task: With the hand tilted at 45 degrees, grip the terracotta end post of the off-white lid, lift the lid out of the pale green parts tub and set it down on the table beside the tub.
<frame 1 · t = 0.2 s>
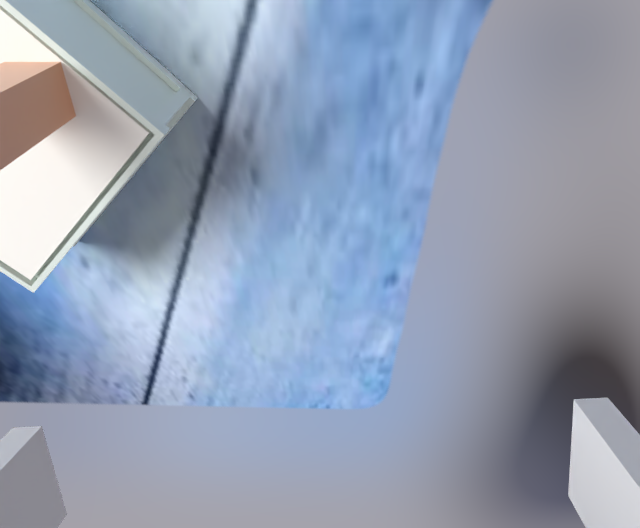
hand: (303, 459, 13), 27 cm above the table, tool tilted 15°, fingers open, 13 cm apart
lid: (8, 148, 33), point 6 cm above the table, touching tub
tub: (56, 116, 38), on the table
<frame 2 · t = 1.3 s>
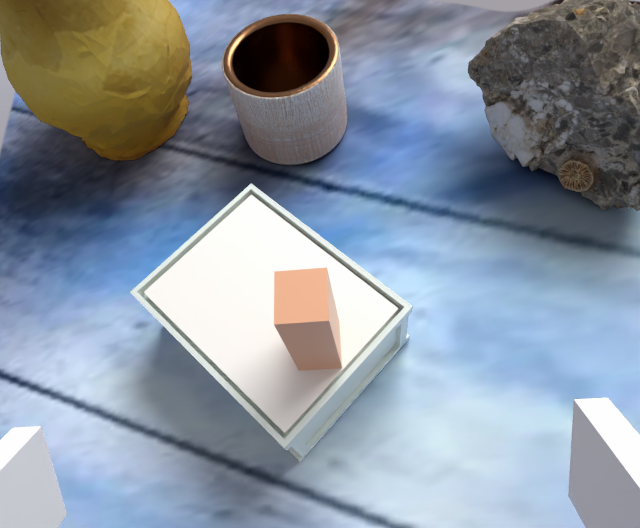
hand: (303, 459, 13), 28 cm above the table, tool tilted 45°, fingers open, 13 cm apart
pitcher: (140, 110, 60), on the table
lid: (268, 304, 40), point 6 cm above the table, touching tub
rock: (583, 149, 50), on the table
planter: (296, 128, 56), on the table
tub: (282, 331, 45), on the table
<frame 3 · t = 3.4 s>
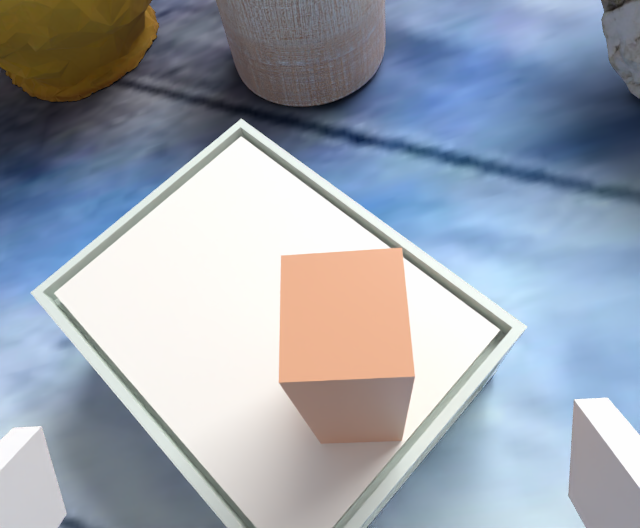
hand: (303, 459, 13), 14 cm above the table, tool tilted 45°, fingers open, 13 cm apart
pitcher: (92, 35, 43), on the table
lid: (266, 317, 23), point 6 cm above the table, touching tub
planter: (310, 58, 39), on the table
tub: (288, 357, 28), on the table
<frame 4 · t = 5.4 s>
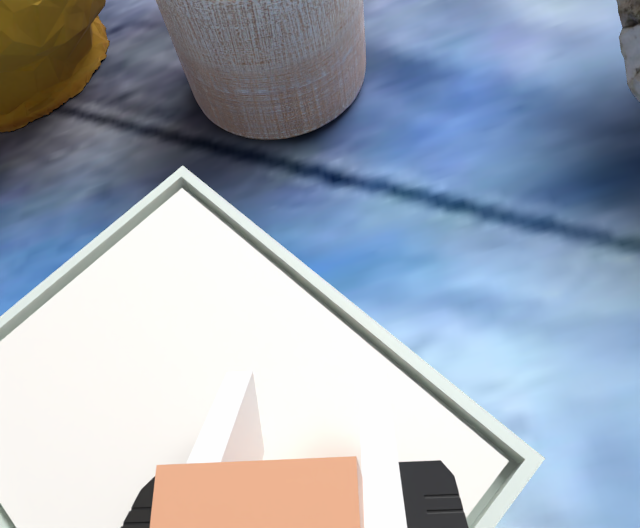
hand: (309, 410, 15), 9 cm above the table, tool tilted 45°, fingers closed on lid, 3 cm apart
pitcher: (33, 55, 37), on the table
lid: (204, 431, 18), point 6 cm above the table, touching gripper, tub
planter: (281, 82, 34), on the table
tub: (244, 456, 23), on the table
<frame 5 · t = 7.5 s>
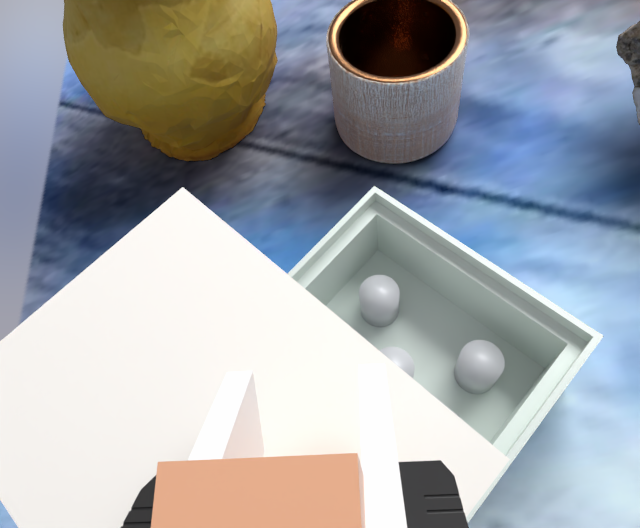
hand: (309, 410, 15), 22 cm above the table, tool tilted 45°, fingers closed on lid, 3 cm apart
pitcher: (209, 103, 52), on the table
lid: (205, 430, 18), point 20 cm above the table, touching gripper
planter: (395, 121, 49), on the table
tub: (409, 361, 38), on the table
when the fingers open (4 cm above the table, at t = 10.0 s): lid drops 2 cm, on the table.
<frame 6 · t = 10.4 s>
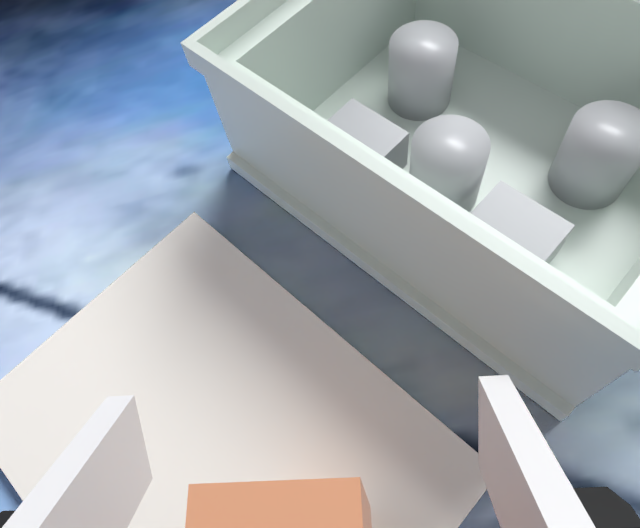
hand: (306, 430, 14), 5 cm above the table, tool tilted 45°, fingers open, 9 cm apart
lid: (217, 443, 19), on the table
tub: (468, 173, 23), on the table
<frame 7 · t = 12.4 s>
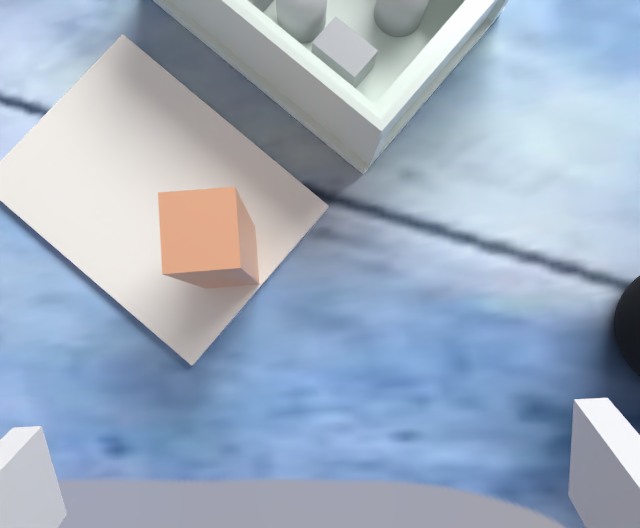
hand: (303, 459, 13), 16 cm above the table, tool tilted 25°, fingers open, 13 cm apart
lid: (159, 197, 30), on the table
tub: (323, 4, 32), on the table
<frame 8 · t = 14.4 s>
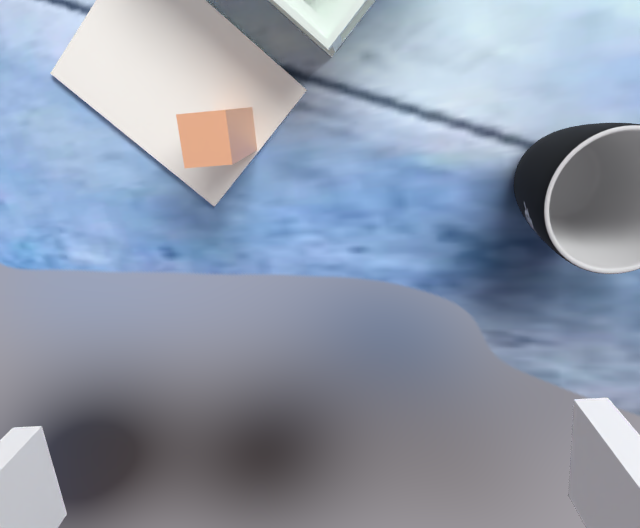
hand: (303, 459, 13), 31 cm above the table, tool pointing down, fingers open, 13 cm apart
mug: (570, 189, 41), on the table
lid: (180, 81, 40), on the table
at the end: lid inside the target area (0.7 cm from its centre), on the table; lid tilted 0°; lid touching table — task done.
